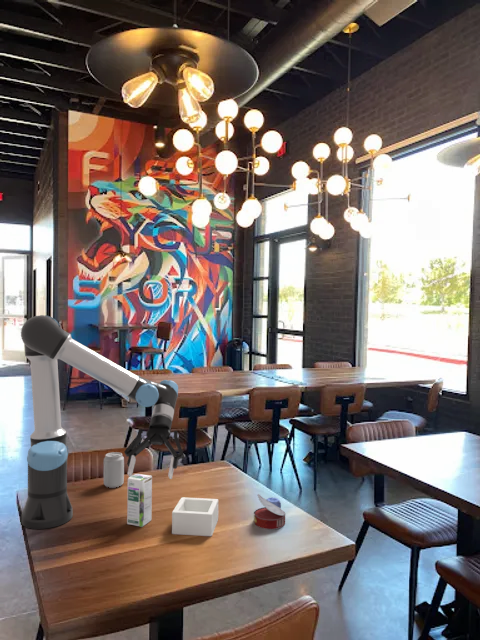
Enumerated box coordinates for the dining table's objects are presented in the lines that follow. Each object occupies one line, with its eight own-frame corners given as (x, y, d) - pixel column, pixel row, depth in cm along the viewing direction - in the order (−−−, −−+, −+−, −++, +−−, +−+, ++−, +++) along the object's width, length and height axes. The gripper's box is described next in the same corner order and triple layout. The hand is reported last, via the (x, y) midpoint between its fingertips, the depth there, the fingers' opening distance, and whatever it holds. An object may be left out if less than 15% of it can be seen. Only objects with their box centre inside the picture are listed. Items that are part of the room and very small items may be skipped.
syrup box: (126, 524, 153) (126, 478, 152) (137, 517, 158) (137, 472, 158) (142, 527, 150) (142, 480, 150) (152, 520, 156) (152, 474, 156)
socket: (211, 536, 145) (211, 514, 145) (172, 533, 146) (172, 512, 146) (218, 519, 157) (218, 499, 157) (181, 517, 158) (181, 497, 158)
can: (112, 490, 182) (112, 458, 182) (99, 485, 186) (99, 454, 186) (128, 484, 188) (128, 453, 188) (115, 480, 192) (115, 450, 192)
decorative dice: (273, 515, 161) (273, 502, 161) (264, 511, 163) (264, 499, 163) (281, 511, 164) (281, 499, 164) (271, 508, 166) (271, 496, 166)
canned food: (262, 530, 160) (267, 498, 164) (289, 535, 154) (294, 502, 158) (243, 524, 152) (249, 491, 156) (271, 529, 146) (276, 494, 150)
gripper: (197, 426, 176) (188, 483, 161) (130, 424, 178) (115, 479, 164) (194, 415, 170) (185, 472, 156) (125, 413, 173) (109, 469, 158)
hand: (149, 476), depth 160 cm, fingers open, 13 cm apart
